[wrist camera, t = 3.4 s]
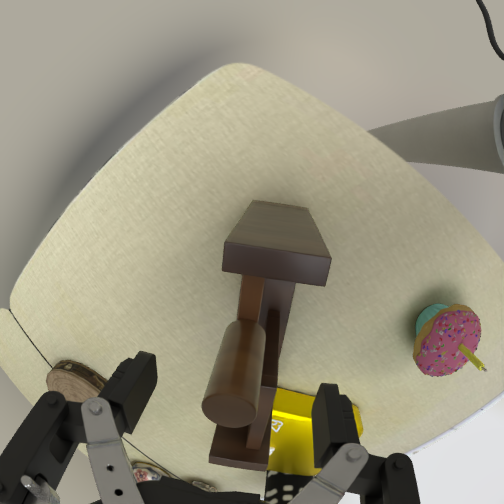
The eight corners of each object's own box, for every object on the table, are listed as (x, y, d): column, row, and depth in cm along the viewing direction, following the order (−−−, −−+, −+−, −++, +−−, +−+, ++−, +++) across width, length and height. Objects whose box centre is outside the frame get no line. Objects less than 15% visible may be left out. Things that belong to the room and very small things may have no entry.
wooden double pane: (252, 199, 26) (224, 241, 13) (307, 208, 26) (332, 258, 13) (231, 369, 32) (208, 463, 20) (273, 376, 32) (265, 471, 19)
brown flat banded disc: (145, 432, 40) (139, 444, 37) (80, 418, 42) (74, 427, 39) (105, 364, 35) (96, 377, 32) (41, 355, 37) (32, 365, 35)
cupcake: (403, 296, 27) (452, 367, 16) (464, 281, 26) (524, 335, 15) (399, 357, 30) (431, 431, 19) (455, 340, 29) (498, 401, 17)
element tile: (314, 457, 38) (315, 480, 33) (227, 439, 38) (222, 463, 33) (364, 405, 33) (370, 431, 28) (260, 381, 33) (257, 409, 28)
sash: (251, 223, 25) (203, 330, 10) (279, 227, 25) (273, 342, 9) (240, 308, 28) (200, 452, 12) (265, 312, 27) (245, 460, 12)
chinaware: (151, 488, 53) (139, 536, 38) (101, 460, 48) (82, 511, 33) (231, 482, 46) (225, 547, 30) (173, 452, 41) (156, 529, 26)
